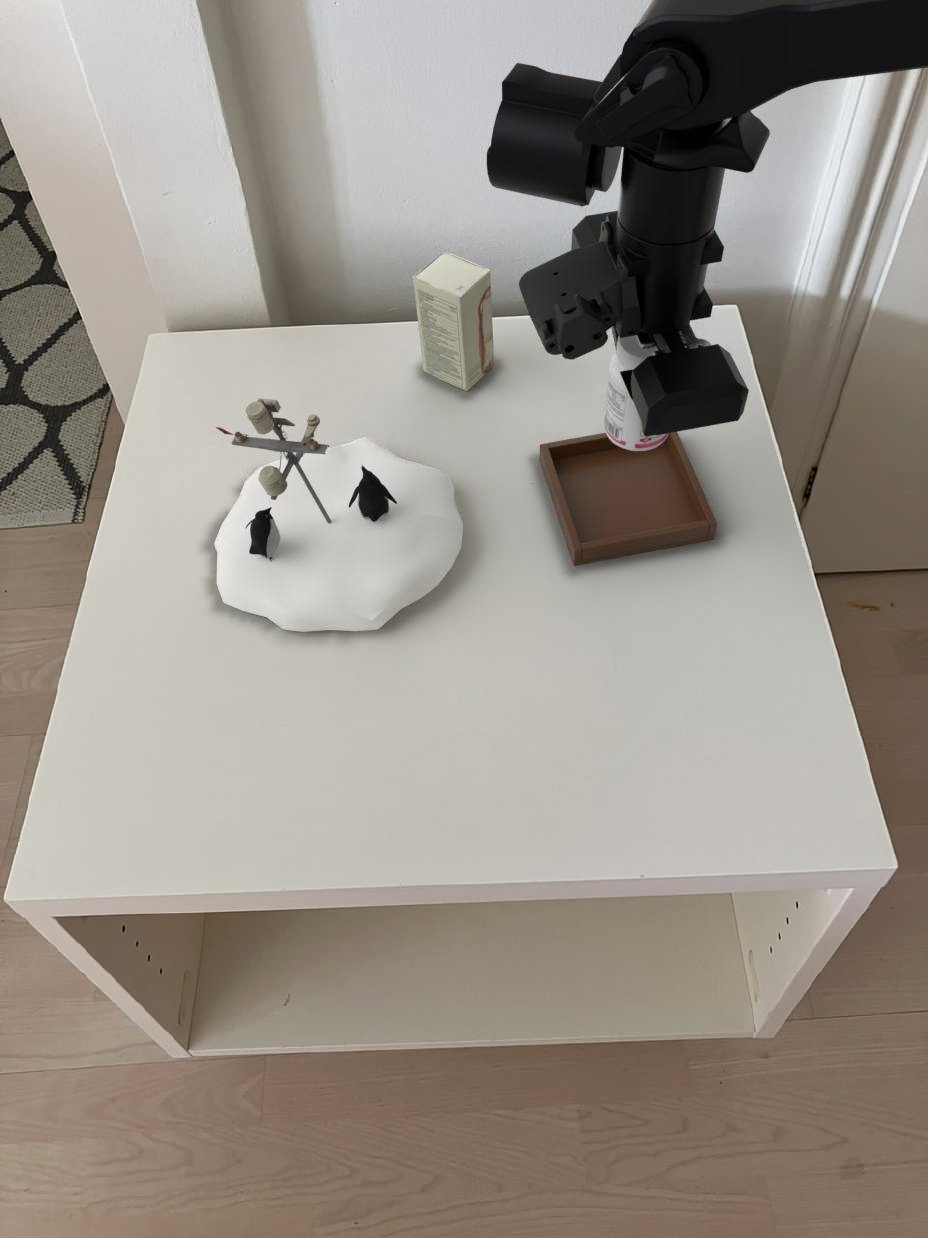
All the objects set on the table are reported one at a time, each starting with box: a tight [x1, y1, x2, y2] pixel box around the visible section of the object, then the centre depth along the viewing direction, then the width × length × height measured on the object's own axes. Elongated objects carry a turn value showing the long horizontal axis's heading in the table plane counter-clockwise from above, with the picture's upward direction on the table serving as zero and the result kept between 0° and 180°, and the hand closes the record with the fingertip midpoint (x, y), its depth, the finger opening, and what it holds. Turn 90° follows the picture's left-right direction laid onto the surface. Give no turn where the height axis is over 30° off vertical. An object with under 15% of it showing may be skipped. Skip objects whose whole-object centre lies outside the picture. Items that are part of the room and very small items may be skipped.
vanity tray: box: [538, 432, 718, 566], centre depth 81 cm, size 11×11×2 cm
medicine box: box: [412, 250, 495, 392], centre depth 87 cm, size 5×4×10 cm
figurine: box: [213, 398, 464, 633], centre depth 74 cm, size 20×18×16 cm
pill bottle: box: [604, 336, 669, 451], centre depth 71 cm, size 5×5×8 cm
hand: (640, 408), depth 73 cm, fingers closed on pill bottle, 5 cm apart
